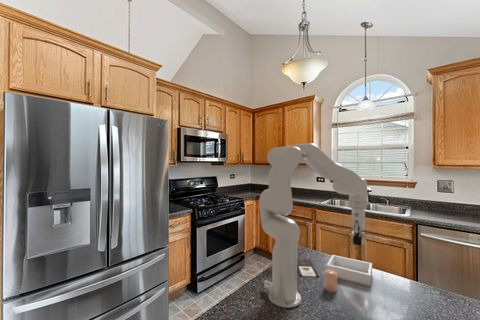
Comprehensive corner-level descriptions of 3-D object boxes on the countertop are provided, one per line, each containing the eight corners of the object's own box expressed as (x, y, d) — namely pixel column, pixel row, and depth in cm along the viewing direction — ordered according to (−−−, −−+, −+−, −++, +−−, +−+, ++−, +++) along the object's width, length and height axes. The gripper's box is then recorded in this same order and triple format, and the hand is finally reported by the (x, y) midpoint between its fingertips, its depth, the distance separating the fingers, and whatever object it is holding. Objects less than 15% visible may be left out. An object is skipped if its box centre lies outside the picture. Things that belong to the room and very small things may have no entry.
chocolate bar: (309, 259, 124) (318, 275, 106) (309, 261, 124) (318, 277, 106) (293, 258, 124) (299, 275, 106) (293, 260, 124) (299, 277, 106)
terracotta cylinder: (323, 289, 95) (323, 273, 95) (326, 284, 99) (326, 268, 99) (336, 293, 92) (336, 276, 92) (338, 288, 97) (338, 271, 97)
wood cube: (351, 244, 106) (351, 233, 106) (352, 240, 110) (352, 230, 110) (363, 246, 103) (363, 235, 103) (364, 242, 107) (364, 232, 107)
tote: (326, 275, 107) (326, 264, 107) (332, 264, 119) (332, 254, 119) (370, 287, 97) (370, 275, 97) (372, 273, 109) (372, 263, 109)
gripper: (365, 208, 97) (365, 250, 97) (368, 202, 112) (368, 239, 112) (346, 206, 101) (346, 247, 101) (351, 200, 116) (351, 236, 116)
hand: (358, 242), depth 106 cm, fingers closed on wood cube, 4 cm apart
